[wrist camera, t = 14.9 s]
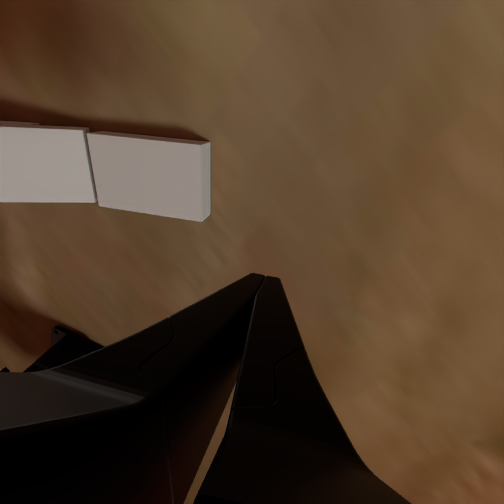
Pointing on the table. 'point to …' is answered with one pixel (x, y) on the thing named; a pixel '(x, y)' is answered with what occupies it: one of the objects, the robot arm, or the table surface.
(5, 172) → the domino
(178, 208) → the domino
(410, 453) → the table surface
